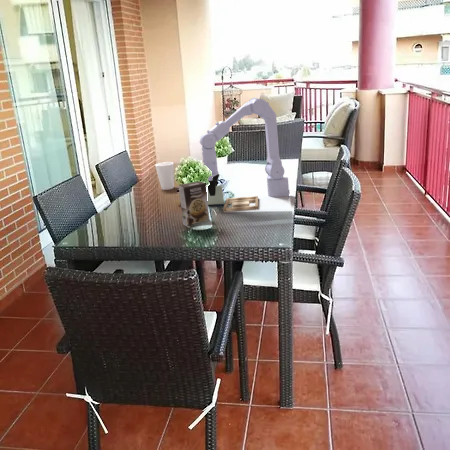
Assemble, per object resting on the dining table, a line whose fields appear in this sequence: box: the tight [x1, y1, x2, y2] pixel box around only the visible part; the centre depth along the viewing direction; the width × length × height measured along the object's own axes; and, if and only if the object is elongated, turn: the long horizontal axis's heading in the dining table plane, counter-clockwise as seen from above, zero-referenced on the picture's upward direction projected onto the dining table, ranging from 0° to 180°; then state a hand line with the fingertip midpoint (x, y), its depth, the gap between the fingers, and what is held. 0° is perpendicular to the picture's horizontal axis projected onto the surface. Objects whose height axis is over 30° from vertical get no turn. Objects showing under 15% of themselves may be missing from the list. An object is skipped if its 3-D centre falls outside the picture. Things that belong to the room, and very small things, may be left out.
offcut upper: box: [231, 201, 250, 207], centre depth 198 cm, size 7×4×2 cm, turn 89°
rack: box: [222, 195, 259, 212], centre depth 203 cm, size 14×16×2 cm
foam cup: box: [155, 161, 175, 191], centre depth 250 cm, size 10×9×13 cm
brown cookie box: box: [178, 181, 210, 229], centre depth 186 cm, size 9×6×16 cm
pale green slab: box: [208, 185, 225, 206], centre depth 208 cm, size 8×2×9 cm, turn 86°
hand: (213, 193), depth 207 cm, fingers open, 7 cm apart
